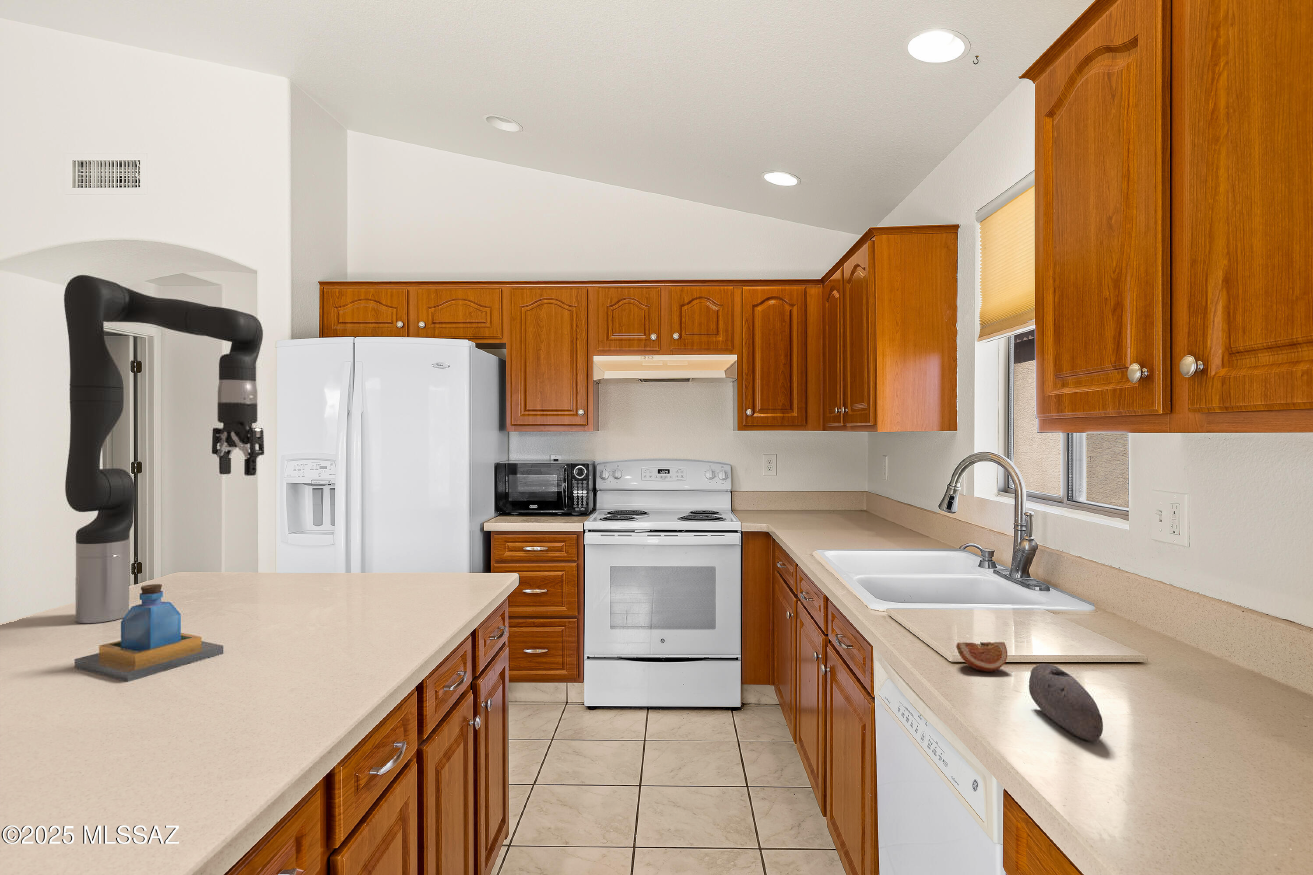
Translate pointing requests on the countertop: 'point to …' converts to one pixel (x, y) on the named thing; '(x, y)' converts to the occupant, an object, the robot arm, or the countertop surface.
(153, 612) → the perfume bottle
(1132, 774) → the countertop surface
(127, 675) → the wooden tray
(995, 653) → the fruit slice
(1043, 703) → the dark grey stone
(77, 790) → the countertop surface
